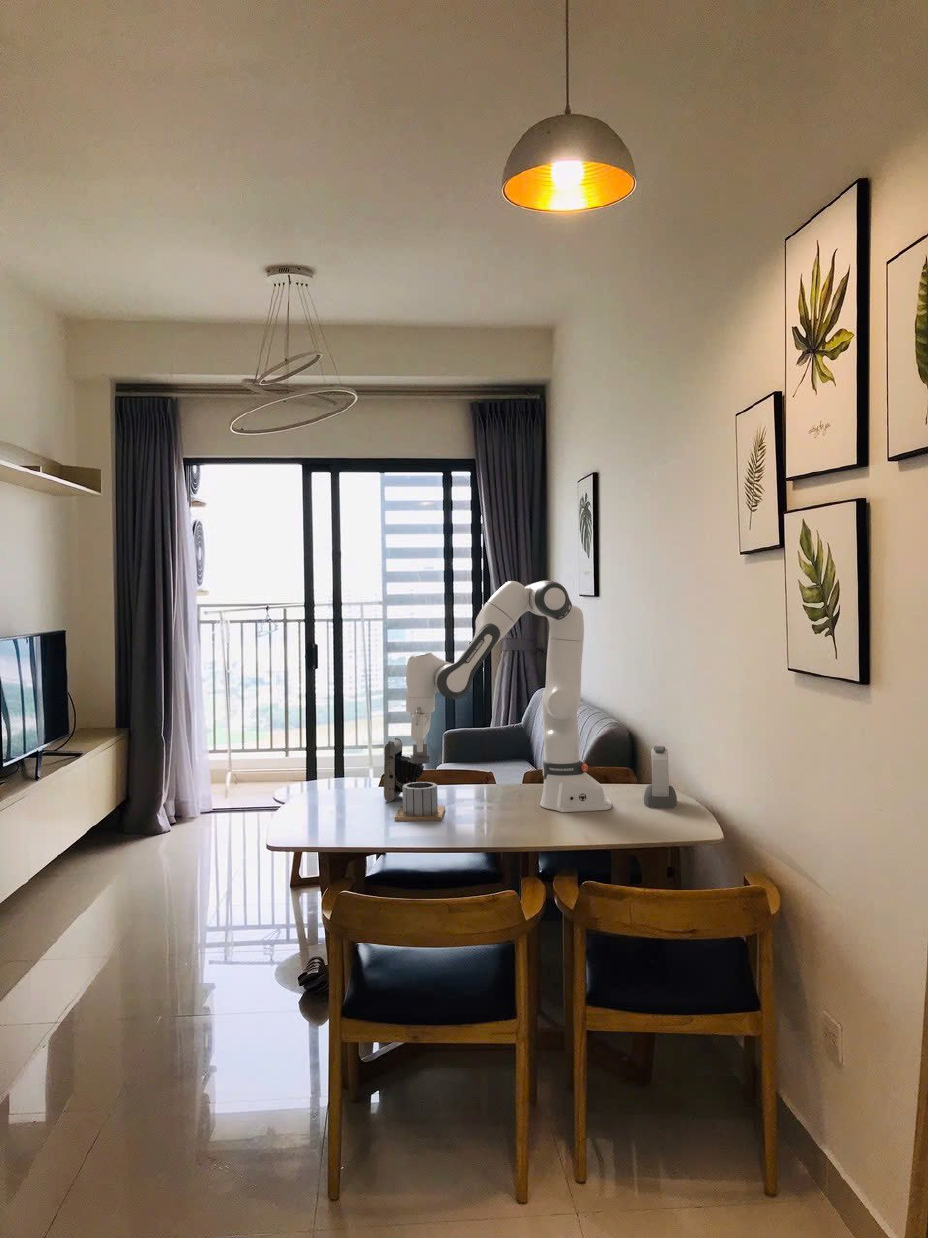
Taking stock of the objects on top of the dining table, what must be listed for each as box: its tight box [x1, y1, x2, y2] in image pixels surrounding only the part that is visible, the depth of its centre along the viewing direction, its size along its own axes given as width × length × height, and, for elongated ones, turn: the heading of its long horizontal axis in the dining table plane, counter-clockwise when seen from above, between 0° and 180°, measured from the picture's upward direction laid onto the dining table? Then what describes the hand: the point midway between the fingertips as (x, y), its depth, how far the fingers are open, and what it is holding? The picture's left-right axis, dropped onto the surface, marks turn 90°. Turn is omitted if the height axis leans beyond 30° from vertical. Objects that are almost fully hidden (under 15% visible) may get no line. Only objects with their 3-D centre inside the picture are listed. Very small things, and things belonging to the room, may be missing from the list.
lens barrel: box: [394, 781, 446, 822], centre depth 272 cm, size 14×14×9 cm
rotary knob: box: [410, 743, 431, 765], centre depth 271 cm, size 6×6×6 cm
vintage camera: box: [383, 737, 425, 803], centre depth 294 cm, size 10×15×20 cm, turn 78°
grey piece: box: [643, 745, 678, 809], centre depth 281 cm, size 16×10×18 cm, turn 168°
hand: (420, 751), depth 271 cm, fingers closed on rotary knob
